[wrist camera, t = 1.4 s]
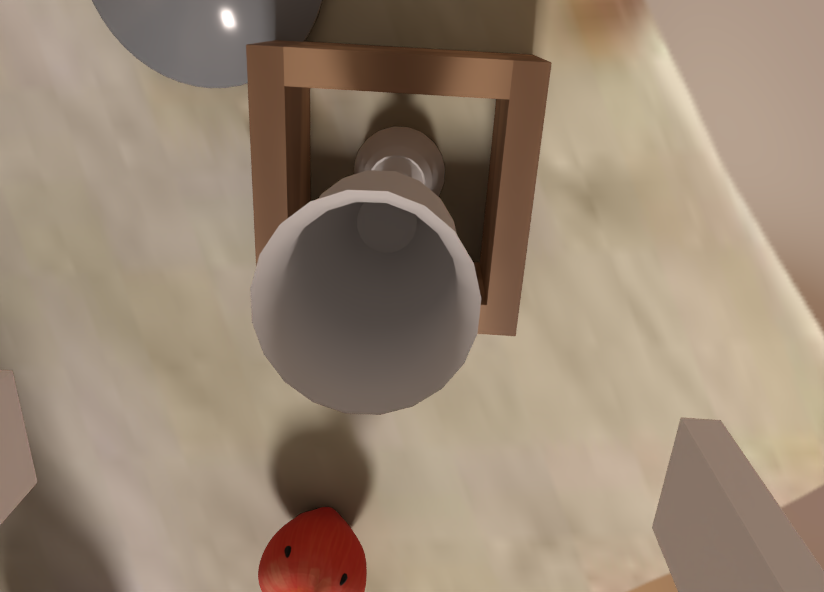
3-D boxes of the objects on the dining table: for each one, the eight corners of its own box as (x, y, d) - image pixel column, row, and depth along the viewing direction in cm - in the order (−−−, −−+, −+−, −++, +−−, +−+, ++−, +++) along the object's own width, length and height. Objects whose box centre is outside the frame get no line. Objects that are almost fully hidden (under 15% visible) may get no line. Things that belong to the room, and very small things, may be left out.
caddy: (284, 275, 38) (258, 319, 33) (278, 39, 33) (245, 44, 27) (504, 289, 38) (515, 336, 32) (532, 54, 33) (551, 62, 27)
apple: (337, 574, 48) (313, 708, 38) (257, 531, 46) (213, 658, 37) (397, 510, 45) (386, 636, 36) (314, 461, 44) (281, 580, 34)
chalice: (348, 92, 34) (263, 165, 17) (475, 119, 34) (509, 216, 18) (328, 223, 37) (239, 392, 20) (445, 247, 37) (450, 433, 21)
